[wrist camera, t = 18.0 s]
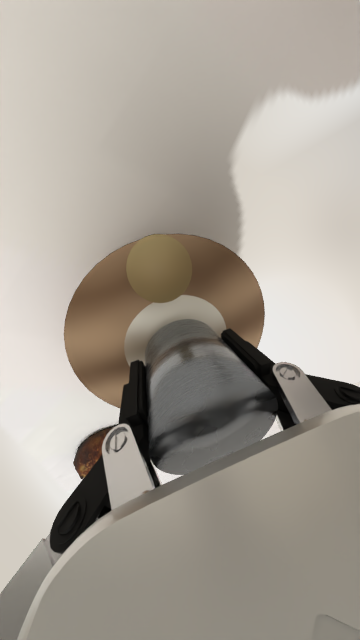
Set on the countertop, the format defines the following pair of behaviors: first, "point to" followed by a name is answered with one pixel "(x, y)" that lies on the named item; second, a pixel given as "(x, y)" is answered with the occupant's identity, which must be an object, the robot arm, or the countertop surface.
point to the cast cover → (201, 398)
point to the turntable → (155, 304)
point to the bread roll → (89, 452)
